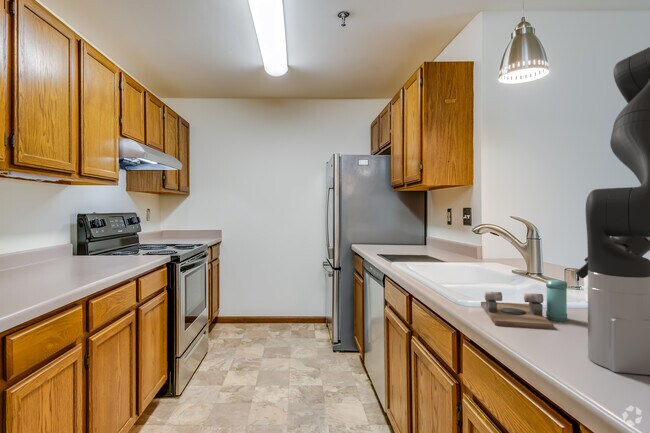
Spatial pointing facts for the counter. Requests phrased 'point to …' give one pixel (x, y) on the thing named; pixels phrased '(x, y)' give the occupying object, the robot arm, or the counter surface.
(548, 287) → the cylinder
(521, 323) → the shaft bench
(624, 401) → the counter surface
